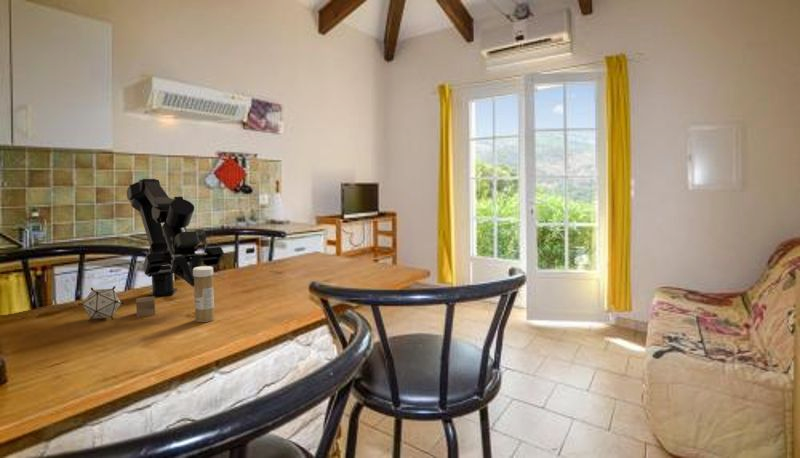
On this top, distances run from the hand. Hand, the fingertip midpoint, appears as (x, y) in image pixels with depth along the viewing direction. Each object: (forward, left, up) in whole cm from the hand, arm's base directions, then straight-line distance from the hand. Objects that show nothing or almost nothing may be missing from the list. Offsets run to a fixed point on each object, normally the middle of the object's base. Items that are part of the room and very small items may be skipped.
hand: (194, 285), depth 107 cm
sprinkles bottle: (+6, +3, -8) cm, 10 cm away
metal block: (-3, -12, -8) cm, 15 cm away
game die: (-1, -21, -8) cm, 23 cm away
